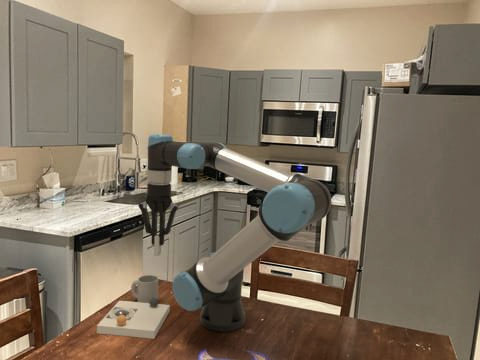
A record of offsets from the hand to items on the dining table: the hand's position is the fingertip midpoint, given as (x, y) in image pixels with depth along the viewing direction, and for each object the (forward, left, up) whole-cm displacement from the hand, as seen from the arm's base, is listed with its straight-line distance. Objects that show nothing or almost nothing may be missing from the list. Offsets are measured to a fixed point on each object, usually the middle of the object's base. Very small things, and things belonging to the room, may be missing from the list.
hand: (157, 254), depth 132 cm
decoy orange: (+8, +10, -18) cm, 22 cm away
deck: (+6, +3, -22) cm, 23 cm away
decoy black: (+2, -4, -18) cm, 19 cm away
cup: (+8, -12, -23) cm, 27 cm away
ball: (+11, +3, -21) cm, 24 cm away
